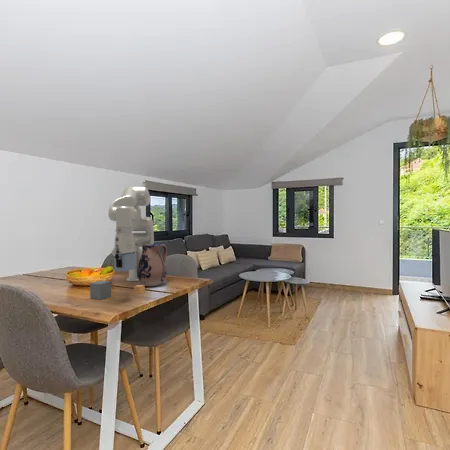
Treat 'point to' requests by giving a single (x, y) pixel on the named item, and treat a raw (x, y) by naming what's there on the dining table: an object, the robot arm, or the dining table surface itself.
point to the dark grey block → (100, 290)
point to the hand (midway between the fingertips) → (124, 265)
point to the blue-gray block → (126, 262)
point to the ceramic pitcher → (152, 265)
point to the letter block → (139, 289)
